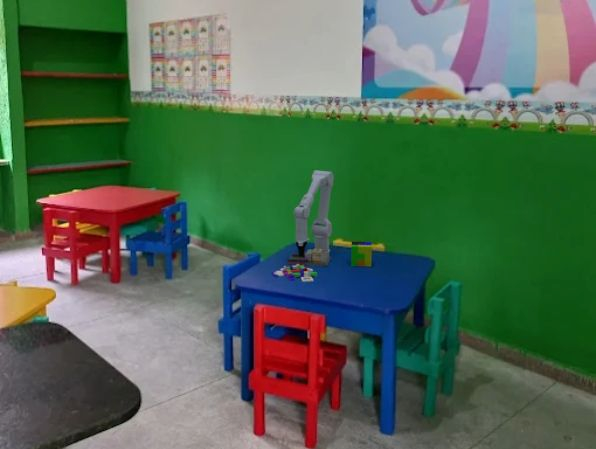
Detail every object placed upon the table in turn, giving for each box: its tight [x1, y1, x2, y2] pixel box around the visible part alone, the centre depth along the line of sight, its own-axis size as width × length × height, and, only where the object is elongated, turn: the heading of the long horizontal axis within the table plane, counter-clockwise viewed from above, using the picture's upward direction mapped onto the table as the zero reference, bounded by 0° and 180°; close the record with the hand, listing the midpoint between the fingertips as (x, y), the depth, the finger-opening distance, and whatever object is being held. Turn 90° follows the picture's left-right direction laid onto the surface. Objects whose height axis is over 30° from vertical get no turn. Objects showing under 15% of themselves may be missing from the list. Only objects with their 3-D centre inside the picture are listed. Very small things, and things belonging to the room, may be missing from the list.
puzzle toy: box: [350, 241, 373, 267], centre depth 311 cm, size 10×10×10 cm
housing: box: [312, 248, 323, 261], centre depth 312 cm, size 4×4×5 cm
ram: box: [304, 249, 313, 261], centre depth 313 cm, size 8×3×4 cm, turn 167°
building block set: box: [271, 263, 318, 283], centre depth 295 cm, size 25×20×4 cm
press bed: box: [286, 250, 332, 268], centre depth 314 cm, size 12×20×6 cm, turn 77°
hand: (301, 256), depth 314 cm, fingers closed
